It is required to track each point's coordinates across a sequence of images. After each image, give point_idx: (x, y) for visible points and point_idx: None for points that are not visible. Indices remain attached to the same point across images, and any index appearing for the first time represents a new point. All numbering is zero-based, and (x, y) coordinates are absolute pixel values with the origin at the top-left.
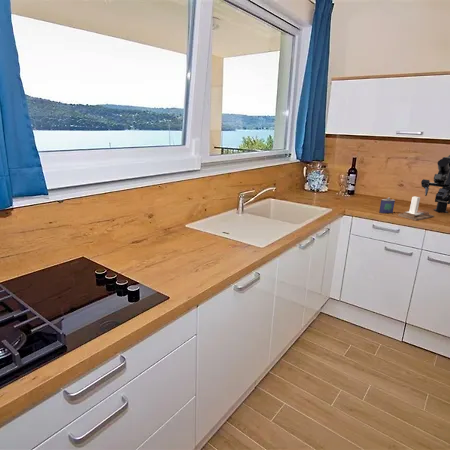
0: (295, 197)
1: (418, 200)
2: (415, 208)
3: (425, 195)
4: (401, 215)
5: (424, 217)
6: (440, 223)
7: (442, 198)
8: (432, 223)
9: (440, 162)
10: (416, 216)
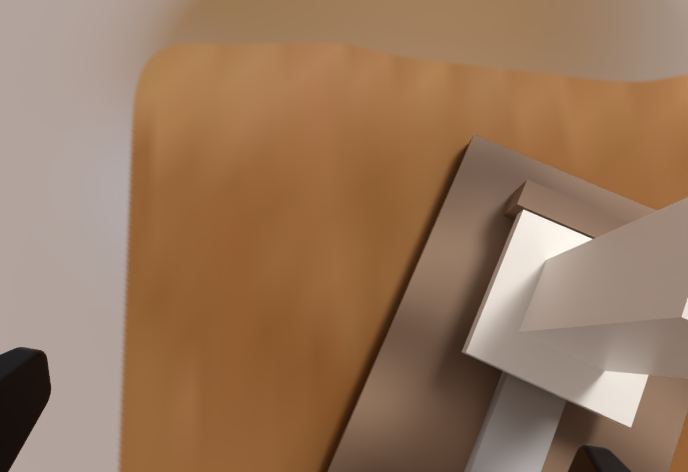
0: None
1: (651, 268)
2: (580, 246)
3: (596, 446)
4: None
5: (391, 324)
6: (185, 220)
7: (44, 375)
8: (275, 147)
9: None
10: None
